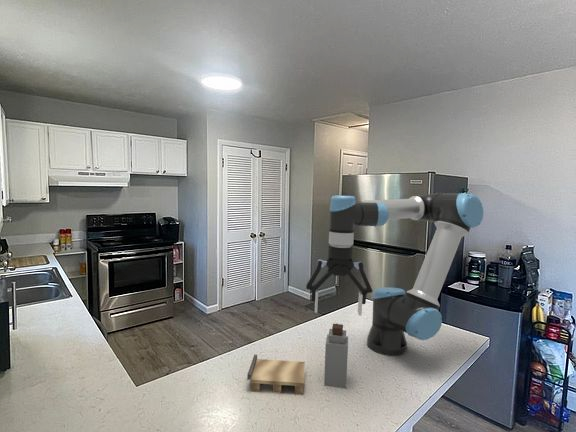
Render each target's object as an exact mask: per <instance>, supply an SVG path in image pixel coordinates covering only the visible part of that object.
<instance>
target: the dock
mask: <svg viewBox="0 0 576 432" xmlns="http://www.w3.org/2000/svg"><path fill="white" fill-rule="evenodd" d="M305 370H306V362H305V361H297V360H296V361H295V360H282V359H281V360H280V359H278V360H277V359H264V358H258V354H254V355H253V357H252V360H251V363H250V366H249V369H248V371H247V380H249V381H250V383H251V388H250V389H251V391H250V392H260V390H261V387H262V384H263V385H272V392H273V393H278V394H282V389H283V386H293V387H294V394H295V395H304V387H305Z"/></svg>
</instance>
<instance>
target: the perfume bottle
mask: <svg viewBox="0 0 576 432" xmlns="http://www.w3.org/2000/svg"><path fill="white" fill-rule="evenodd" d="M348 353H349V336H347V330H344V324H341V323H340V324H339V323H332V328H329V330H328V334H327V335H326V340H325V351H324V354H325V355H324V356H325V357H324V375H323V376H324V377H323V379H324V381H323V382H324V383H323V386H325V387H332V388H339V389H344V390H345V389H346V390H347V380H348V379H347V377H348V375H347V374H348Z"/></svg>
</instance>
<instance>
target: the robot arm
mask: <svg viewBox="0 0 576 432" xmlns="http://www.w3.org/2000/svg"><path fill="white" fill-rule="evenodd" d="M483 218H484V207H483V204H482V202H481V199H479V197H478V196H476V194H475V195H474V194H472V193H465V192H461V193H459V192H458V193H450V192H449V193H447V192H446V193H444V192H436V193H428V194H422V195H413V196H410V197H409V198H396V199H393V198H392V199H391V198H390V199H372V200H371V199H370V200H366V199H365V200H356V197H355V196H353V195H332V196H331V198H330V204H329V226H328V228H329V231H328V244H329V246H328V248H327V249H328V252H327V253H328V254H327V259H326V260H322V259H317V265H316V267H315V269H314V271H312V272H313V273H311V276H310V278H309V279H308V281H307V283H306V288H305V289H307V290H309V291H311V302H314V314H317V313H318V305H319V304H318V303H319V302H318V300H319V288H320V287H321V286H322V285H323V284H324V283H325V282H326V281H327V280H328V278H330V277H331V276H332V275H333V276H336V277H337V276H342V277H346V276H348V277H349V278H350V280H351V281H352V282H353V283H354V284H355V286H356V287H357V288H358V290H359V291H358V301H357V314H358V316H363V315H362V314H363V305H365V304H366V303H367V302H366V301H367V300H366V299H367V294H369V293H370V294H371V293H373V297H372V322H371V324H372V325H371V327H370V330H369V332H368V334H367V337H366V345H367V347H368V348H369V349H370V350H372V351H374V352H376V353H379V354H381V355H385V356H400V355H403V354H405V353H406V352H407V350H408V343H407V338H406V335H405V334H408V336H410V337H413V338H415V339H417V340H420V341H427V340H429V339H430V338H434V337H435V336H436V335H437V333H439V331H440V329H441V326H442V325H443V319H442V318H443V316H442V314H441V312H440V311H439V310H440V307H441V305H440V302H439V301H438V298H439V297H440V293H441V291H442V288H443V285H444V283H445V281H446V279H447V275H448V273H449V271H450V268H451V266H452V263H453V260H454V258H455V255H456V253H457V250H458V247H459V245H460V242H461V239H462V238H463V237H465V236H468V235H469V233H470V230H471V228H476V227H478V226H479V225H480V224H481V223H482V221H483ZM401 219H409V220H412V221H426V222H430V223H434V225H435V227H436V230H435V232H434V235H433V237H432V239H431V242H430V245H429V247H428V249H427V252H426V255H425V257H424V260H423V262H422V263H421V267H420V270H419V271H418V273H417V274H418V275H417V277H416V280H415V282H414V285H413V286H412V287H413V288H412V289H408V290H407V291H406V290H405V289H403V288H400V287H390V286H389V287H387V286H385V287H379V288H375V290H374V291H373V288H372V286H371V284H370V282H369V279H368V278H367V275H366V273H365V270H364V264H363V262H362V261H361V260H359V261H356V262H355V261H353V256H354V248H353V245H354V235H355V234H354V233H355V227H380V226H381V227H382V226H384V225H385V224H386V223H387V222H388V221H389V220H401ZM325 266H326V267H327V268H328V269H327V270H326V271H325V273H324V274H322V276H321V277H320V278H319V279H318V280H317V281H316V282H315V280H316V278H317V277H318V275H319V274H320V272H321V269H322V268H324V267H325ZM354 267H355V268H356V270H358V272H359V274H360V276H361V279H362V281H363V283H364V285H365V287H364V286H363V285H362V284H361V282H360V281H359V280H358V279H357V277H356V276H355V275H354V274H353V272H352V269H353V268H354ZM314 282H315V283H314Z"/></svg>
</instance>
